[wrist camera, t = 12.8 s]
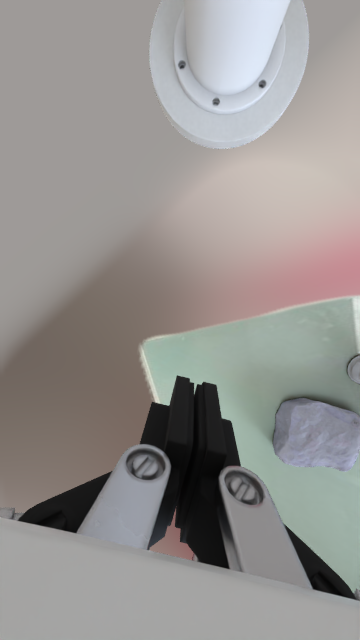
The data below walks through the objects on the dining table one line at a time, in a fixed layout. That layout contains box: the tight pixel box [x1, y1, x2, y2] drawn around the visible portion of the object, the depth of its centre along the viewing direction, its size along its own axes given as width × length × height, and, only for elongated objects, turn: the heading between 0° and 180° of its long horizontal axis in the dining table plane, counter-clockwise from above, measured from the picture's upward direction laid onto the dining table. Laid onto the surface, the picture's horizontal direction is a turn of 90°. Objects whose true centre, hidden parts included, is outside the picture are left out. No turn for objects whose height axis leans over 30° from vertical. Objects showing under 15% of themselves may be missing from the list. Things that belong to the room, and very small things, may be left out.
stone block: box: [273, 398, 360, 471], centre depth 40 cm, size 12×5×10 cm
